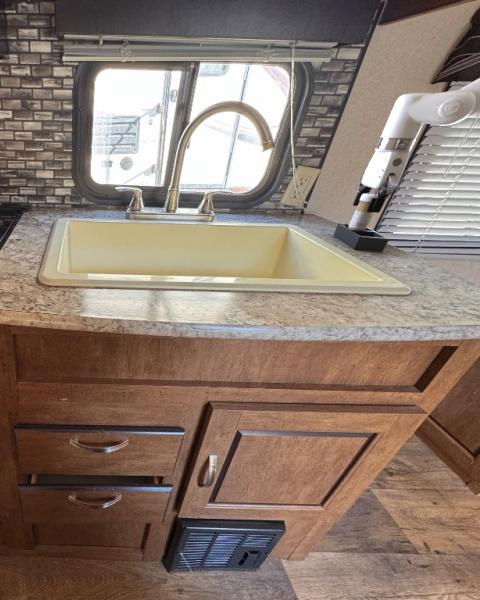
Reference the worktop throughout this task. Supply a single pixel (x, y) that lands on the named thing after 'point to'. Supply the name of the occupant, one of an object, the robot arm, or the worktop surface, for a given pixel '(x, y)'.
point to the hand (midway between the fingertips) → (365, 208)
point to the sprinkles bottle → (362, 213)
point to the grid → (361, 238)
